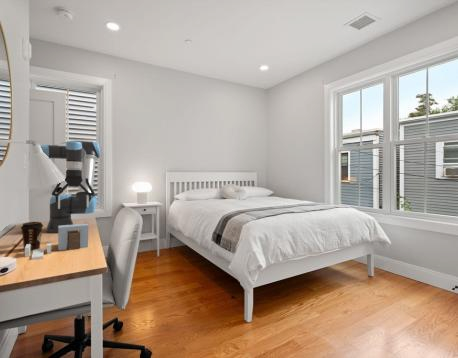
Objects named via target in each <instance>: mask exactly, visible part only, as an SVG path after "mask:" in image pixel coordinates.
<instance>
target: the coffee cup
mask: <svg viewBox="0 0 458 358" xmlns="http://www.w3.org/2000/svg"><path fill="white" fill-rule="evenodd" d="M43 227H44V225H43V224H42V222H41V221H29V222H24V223H22V225H21V227H20V229H21V234H22V245H23V251H24V252H25V247H26V244H31V251H32V252H33V251H34V250H37V249H41V248H40V247H41V241H42V235H43V234H42V233H43V232H42V231H43V230H42V229H43Z"/></svg>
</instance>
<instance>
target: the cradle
mask: <svg viewBox="0 0 458 358" xmlns="http://www.w3.org/2000/svg"><path fill="white" fill-rule="evenodd" d="M44 253H45V248H39V249H36V250H32V253H31V244H26V247H25V251H24V257H25V258H27V257H30V255H31V254H32V255H31V261H32V260H40V259H44ZM51 254H52V241H47V243H46V255H51Z"/></svg>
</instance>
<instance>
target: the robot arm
mask: <svg viewBox="0 0 458 358" xmlns="http://www.w3.org/2000/svg"><path fill="white" fill-rule="evenodd" d="M40 146H41V148H42V150H43V152H44V153H45V154H46V155H47V156H48V157H49V158H48V159H61V160H65V169H66V170H65V178H64V179H65V181H64V182H65V185H64V186H63V187H62V188H61V189H60V190H59V191H58V189H59V187H60V186H61V185H62V182H61V183H59V184H58V183H57V184H56V186H55V187H54V189H53V191H52V192H51V195H52V196H51V197H50V198H49V220H48V223H47V224H46V227H45V228H46V229H45V230H46V231H45V232H46V233H50V234H55V233H56V234H58V226H62V225H74V222H73V219H72V215H81V214H82V215H84V214H86V215H88V214H93V213H95V211H96V209H97V205H98V196H96V194H95V191H94V182H95V170H96V169H95V168H96V162H98V159H100V158H101V147H100V144H99V142H97V141H88V140H87V141H86V140H67V141H62V142H60V143H58V144H52V145H51V144H41V145H40ZM68 187H78V191H77V192H76V193H75V196H72V194H71V193H70V194H62V193H63V192H64V191H65V190H66V189H67V188H68ZM57 191H58V192H57Z"/></svg>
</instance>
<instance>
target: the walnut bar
mask: <svg viewBox="0 0 458 358" xmlns="http://www.w3.org/2000/svg"><path fill="white" fill-rule="evenodd" d="M79 249H80V247H79V230H67V250H68V251H75V250H76V251H77V250H79Z"/></svg>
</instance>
